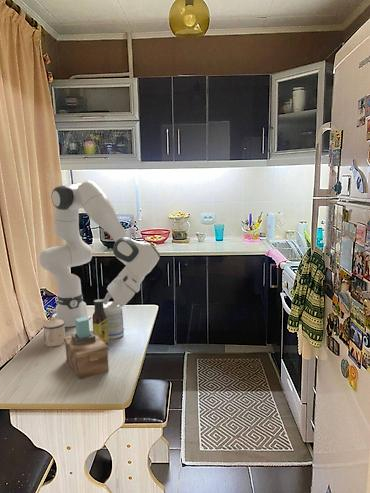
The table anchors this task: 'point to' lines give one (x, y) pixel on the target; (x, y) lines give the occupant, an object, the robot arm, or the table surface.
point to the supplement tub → (114, 321)
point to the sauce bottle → (100, 321)
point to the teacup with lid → (54, 332)
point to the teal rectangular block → (82, 327)
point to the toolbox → (86, 354)
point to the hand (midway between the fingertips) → (105, 306)
